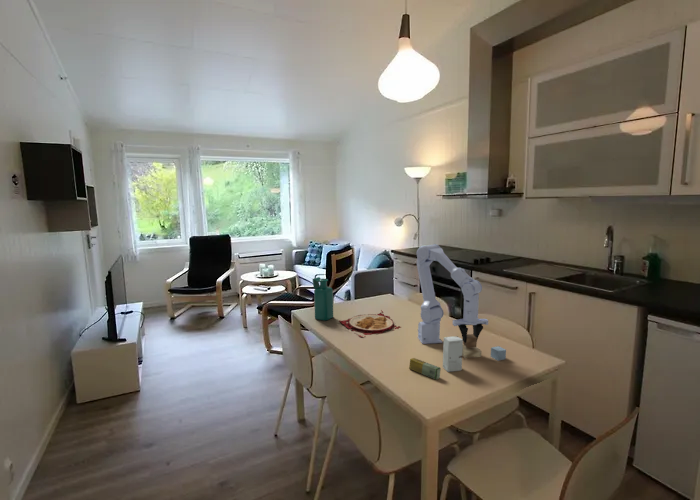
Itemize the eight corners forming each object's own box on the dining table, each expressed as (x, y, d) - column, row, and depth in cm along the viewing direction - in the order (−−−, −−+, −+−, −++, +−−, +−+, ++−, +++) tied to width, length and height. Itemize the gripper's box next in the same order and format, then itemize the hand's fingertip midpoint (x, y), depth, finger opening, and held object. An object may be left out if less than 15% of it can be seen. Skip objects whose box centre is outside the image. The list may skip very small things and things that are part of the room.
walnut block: (467, 347, 147) (467, 338, 147) (463, 343, 151) (463, 334, 151) (476, 347, 148) (476, 337, 147) (472, 343, 152) (472, 334, 151)
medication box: (440, 378, 130) (441, 367, 130) (436, 380, 128) (437, 369, 128) (412, 367, 139) (413, 357, 138) (408, 368, 137) (409, 358, 136)
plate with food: (338, 323, 190) (338, 317, 190) (381, 315, 202) (381, 309, 201) (360, 340, 169) (360, 333, 168) (407, 329, 180) (407, 322, 180)
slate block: (497, 360, 143) (498, 351, 143) (490, 356, 147) (491, 347, 147) (505, 359, 145) (506, 349, 144) (498, 355, 149) (498, 346, 148)
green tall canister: (334, 317, 199) (334, 278, 196) (325, 321, 192) (324, 281, 189) (320, 314, 204) (319, 276, 201) (311, 318, 197) (310, 279, 194)
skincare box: (447, 372, 134) (448, 341, 133) (442, 367, 139) (442, 337, 137) (462, 370, 136) (463, 339, 134) (456, 365, 140) (457, 335, 138)
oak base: (464, 358, 146) (465, 351, 146) (457, 351, 153) (457, 345, 153) (481, 357, 147) (481, 350, 147) (473, 350, 154) (473, 344, 154)
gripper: (457, 313, 143) (456, 346, 145) (492, 312, 144) (491, 344, 146) (451, 308, 150) (450, 339, 152) (484, 307, 151) (483, 337, 153)
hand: (469, 341), depth 149 cm, fingers closed on walnut block, 4 cm apart
